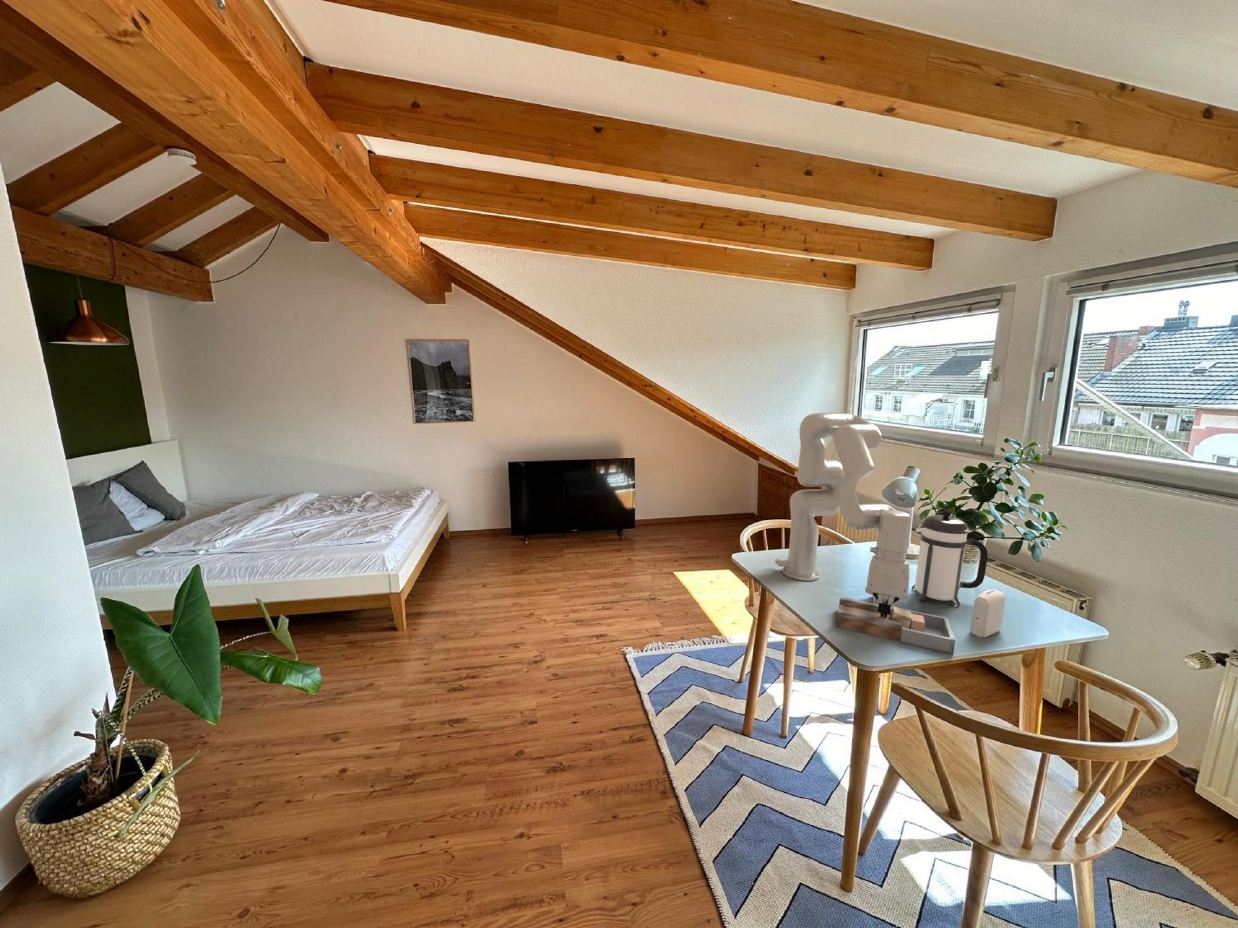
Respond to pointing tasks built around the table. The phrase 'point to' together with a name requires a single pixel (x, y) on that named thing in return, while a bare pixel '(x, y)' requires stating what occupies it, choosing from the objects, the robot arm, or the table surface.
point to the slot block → (866, 619)
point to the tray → (930, 634)
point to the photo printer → (987, 613)
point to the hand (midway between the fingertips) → (883, 615)
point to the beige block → (901, 616)
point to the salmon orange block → (917, 623)
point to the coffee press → (945, 558)
